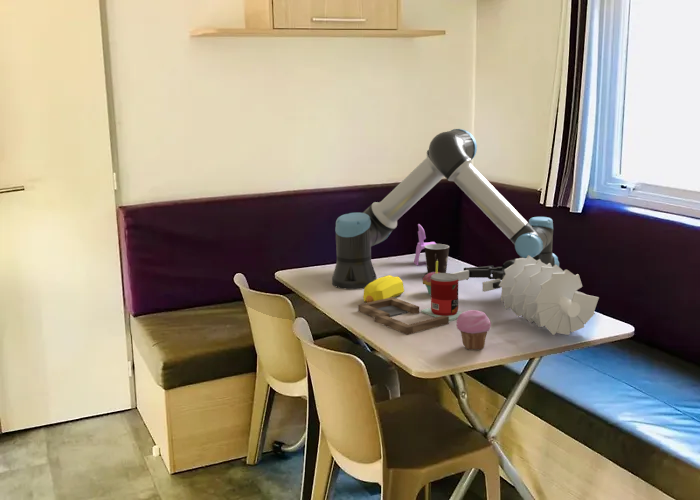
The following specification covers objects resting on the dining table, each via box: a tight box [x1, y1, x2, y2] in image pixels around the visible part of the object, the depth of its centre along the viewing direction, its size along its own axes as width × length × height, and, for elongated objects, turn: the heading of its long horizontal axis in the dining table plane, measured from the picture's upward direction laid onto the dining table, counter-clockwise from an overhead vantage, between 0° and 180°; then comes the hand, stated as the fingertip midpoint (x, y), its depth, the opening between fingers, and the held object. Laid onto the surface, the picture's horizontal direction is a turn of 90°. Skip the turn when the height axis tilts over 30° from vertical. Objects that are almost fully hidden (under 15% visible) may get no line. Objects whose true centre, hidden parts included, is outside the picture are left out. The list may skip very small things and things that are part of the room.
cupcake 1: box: [422, 259, 439, 296], centre depth 249 cm, size 9×8×12 cm
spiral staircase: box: [499, 255, 600, 336], centre depth 215 cm, size 18×18×25 cm
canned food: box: [430, 272, 459, 316], centre depth 228 cm, size 8×8×11 cm
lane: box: [357, 297, 450, 336], centre depth 227 cm, size 26×15×2 cm, turn 34°
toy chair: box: [413, 223, 437, 267], centre depth 288 cm, size 8×9×15 cm
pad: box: [420, 307, 464, 322], centre depth 229 cm, size 12×8×1 cm, turn 34°
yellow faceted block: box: [363, 274, 405, 303], centre depth 246 cm, size 18×7×8 cm
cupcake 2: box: [455, 309, 492, 351], centre depth 200 cm, size 9×9×10 cm
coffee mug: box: [424, 243, 450, 274], centre depth 272 cm, size 12×9×10 cm
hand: (467, 282), depth 232 cm, fingers open, 13 cm apart
